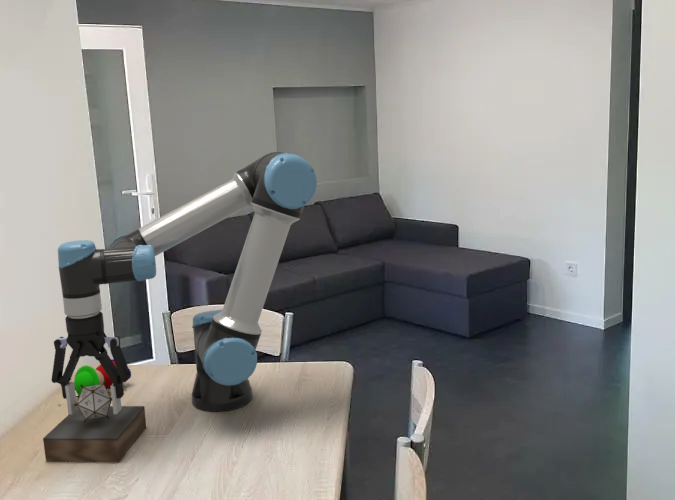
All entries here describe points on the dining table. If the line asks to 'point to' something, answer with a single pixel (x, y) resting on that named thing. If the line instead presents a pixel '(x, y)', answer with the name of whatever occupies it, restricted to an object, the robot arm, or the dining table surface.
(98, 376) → the toy figure
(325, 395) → the dining table surface
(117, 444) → the dark gray square base
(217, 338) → the robot arm
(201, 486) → the dining table surface
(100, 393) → the game die
